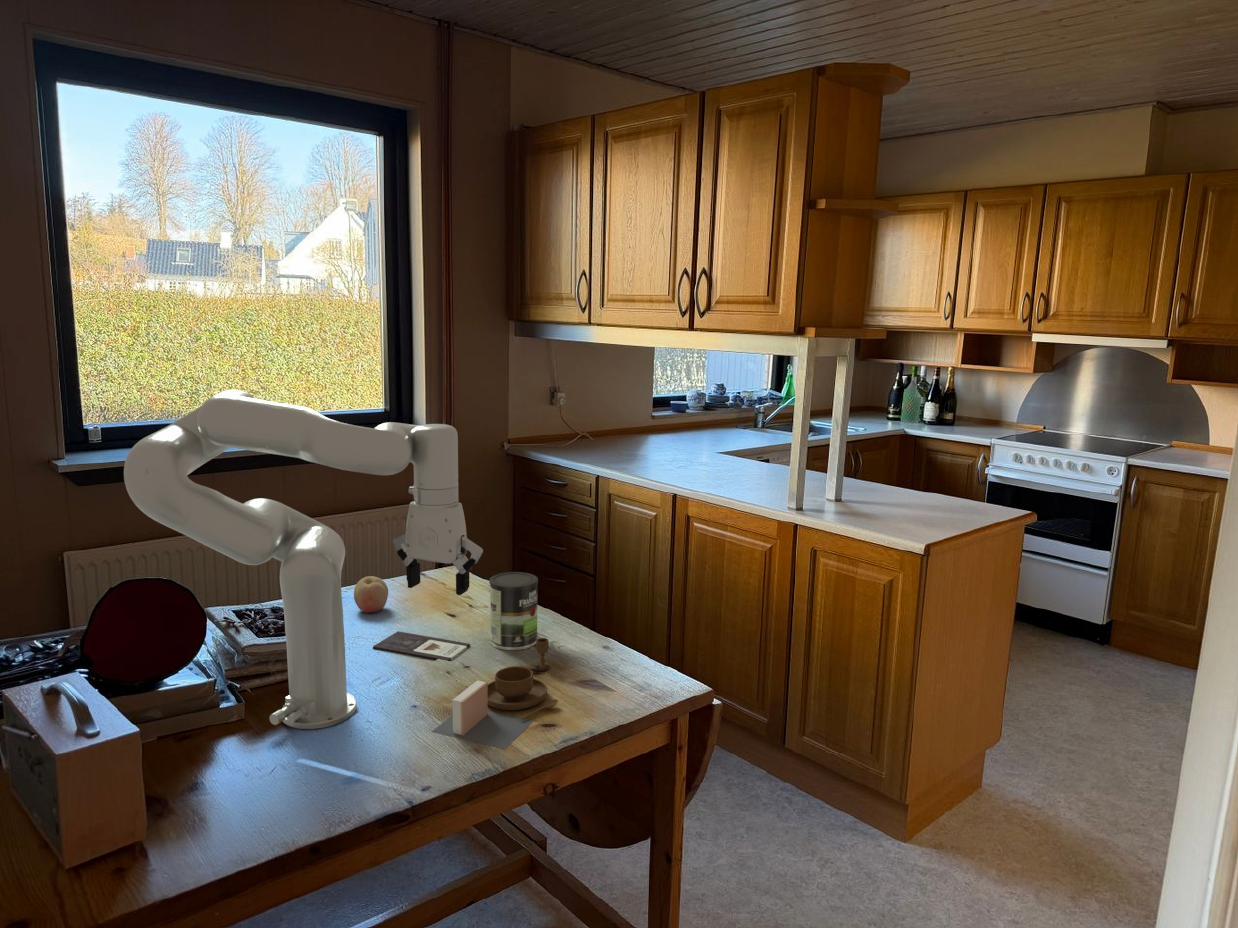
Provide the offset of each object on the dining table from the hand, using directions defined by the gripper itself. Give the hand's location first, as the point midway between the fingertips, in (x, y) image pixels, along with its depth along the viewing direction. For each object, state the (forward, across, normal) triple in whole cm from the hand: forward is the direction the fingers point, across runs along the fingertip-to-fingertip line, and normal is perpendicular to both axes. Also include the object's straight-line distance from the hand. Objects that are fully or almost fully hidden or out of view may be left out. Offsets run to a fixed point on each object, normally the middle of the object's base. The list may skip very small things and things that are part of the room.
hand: (437, 589), depth 147 cm
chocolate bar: (+22, -16, +20) cm, 34 cm away
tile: (+21, +10, -6) cm, 24 cm away
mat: (+22, +12, -6) cm, 25 cm away
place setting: (+21, +14, +9) cm, 27 cm away
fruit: (+22, -38, +34) cm, 56 cm away
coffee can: (+22, +1, +30) cm, 37 cm away
